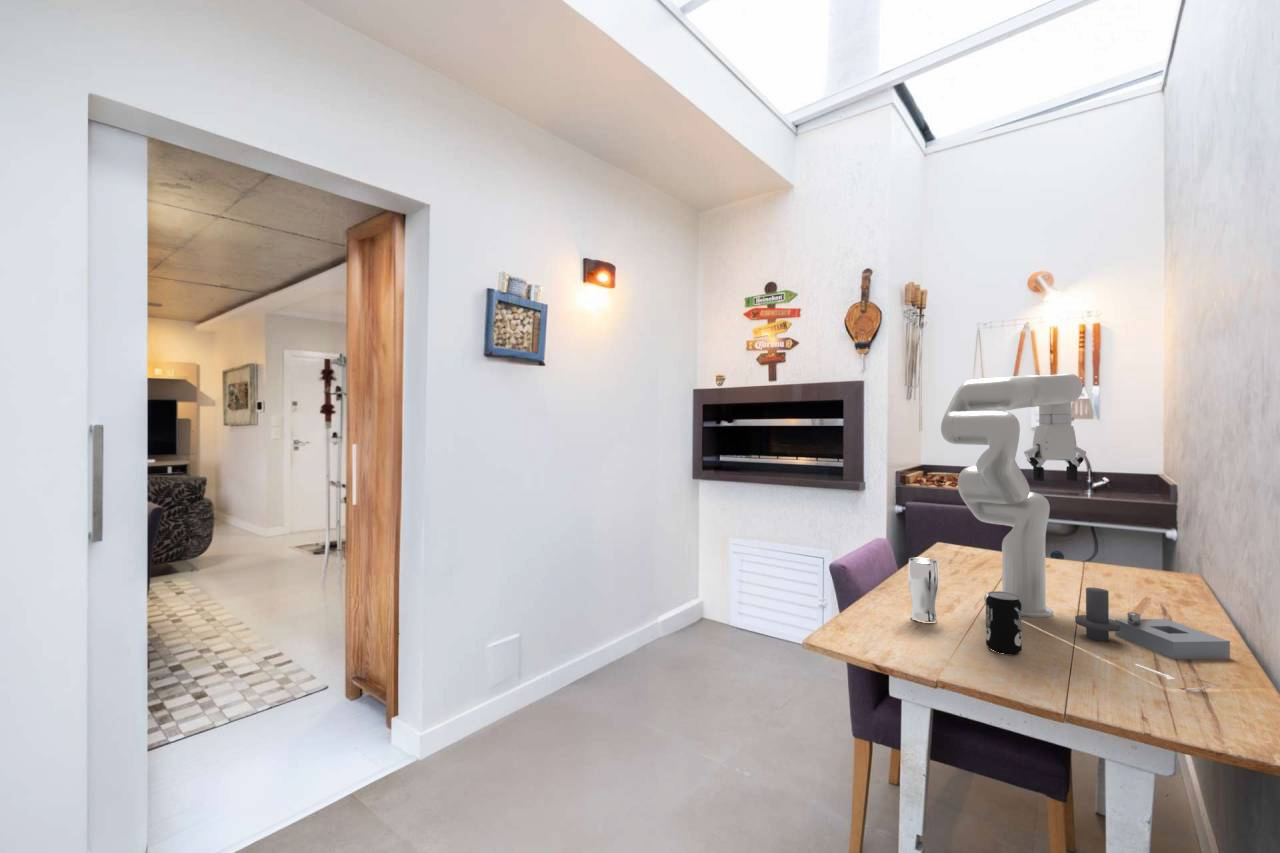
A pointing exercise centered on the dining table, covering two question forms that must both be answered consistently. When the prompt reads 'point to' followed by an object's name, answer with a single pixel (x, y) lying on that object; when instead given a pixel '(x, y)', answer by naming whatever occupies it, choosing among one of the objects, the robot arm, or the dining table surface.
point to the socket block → (1174, 639)
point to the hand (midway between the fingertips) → (1055, 480)
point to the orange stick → (1138, 611)
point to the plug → (1097, 615)
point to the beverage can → (1004, 622)
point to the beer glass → (923, 588)
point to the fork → (1170, 678)
